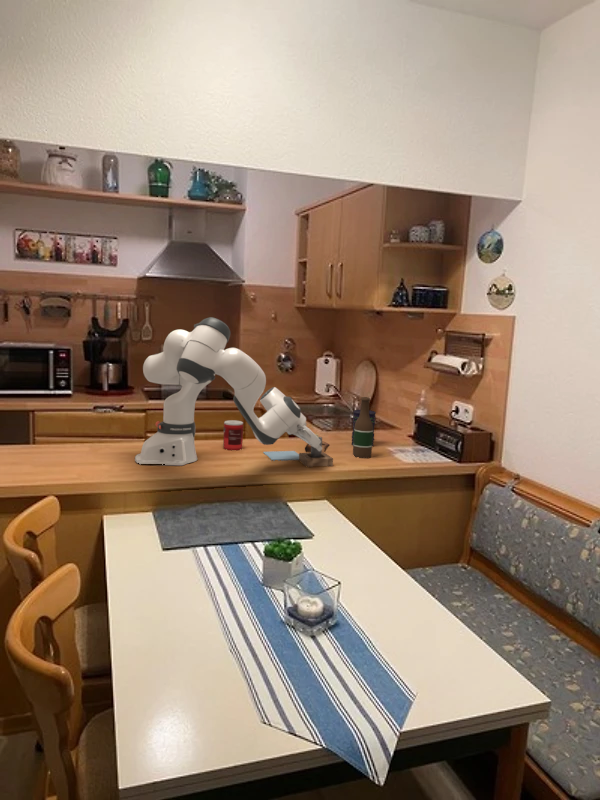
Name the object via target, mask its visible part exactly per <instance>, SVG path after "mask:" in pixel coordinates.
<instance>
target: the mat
mask: <svg viewBox="0 0 600 800" xmlns="http://www.w3.org/2000/svg"><path fill="white" fill-rule="evenodd" d="M262 453H263V454H264V455H265V456H266V455H267V456H268V457H269V458H270V459H271V461H272V460H273V461H272V462H275V460H278V462H279V461H280V460H281V461H299V453H298V452H297V451H295V450H283V451H282V450H280V451H278V450H276V451H275V450H274V451H263V452H262ZM267 456H266V457H267ZM268 457H267V458H268ZM269 458H268V459H269Z"/></svg>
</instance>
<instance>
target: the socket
mask: <svg viewBox="0 0 600 800" xmlns="http://www.w3.org/2000/svg"><path fill="white" fill-rule="evenodd" d="M298 454H299V460H298V461H299V462H300V461H301V462H302V463H301V462H300V463H301V464H303V466H305V467H306V466H307V467H306V468H314V467H313V466H328V467H333V464H334V458H333V456H332V457H331V456H330V455H329V454H327V453H326V452H325V453H324V452H321V458H311V452H299V453H298Z"/></svg>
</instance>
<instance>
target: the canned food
mask: <svg viewBox="0 0 600 800" xmlns="http://www.w3.org/2000/svg"><path fill="white" fill-rule="evenodd" d="M243 436H244V422H243V421H241V420H236V419H235V420H232V419H231V420H229V419H228V420H224V422H223V444H222V445H223V449H224V450H226V449H227V451H232V450H236V451H240V449H241V450H242V448H243V440H244V439H243V438H244V437H243Z"/></svg>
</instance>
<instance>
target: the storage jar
mask: <svg viewBox="0 0 600 800" xmlns="http://www.w3.org/2000/svg"><path fill="white" fill-rule="evenodd" d="M352 412H353V415H352V424H353V425H352V432H351V445H352V446H353V440H354V426H355V423H356V420H357V419H358V418H359V415H360V409H354V410H353V411H352ZM376 413H377V411H374V410H370V409H369V416H370V420H371V421H372V424H373V439H372V446H373V447H374V443H375V424H376Z"/></svg>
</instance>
